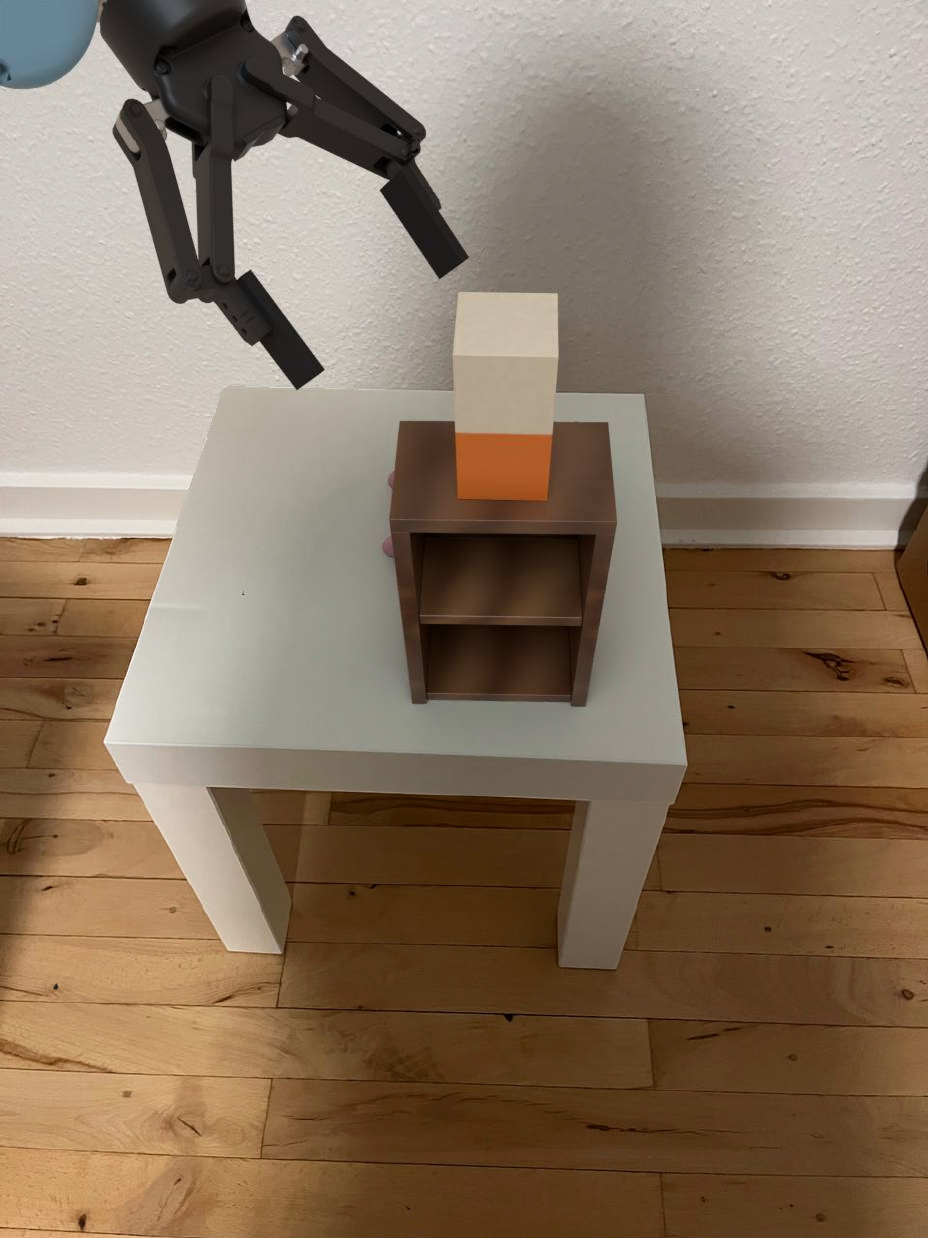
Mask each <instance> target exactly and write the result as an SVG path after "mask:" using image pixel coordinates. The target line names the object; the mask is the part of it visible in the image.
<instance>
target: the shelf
mask: <svg viewBox="0 0 928 1238" xmlns="http://www.w3.org/2000/svg"><path fill="white" fill-rule="evenodd" d="M609 424H610V423H609V421H577V422H574V421H554V422H553V434H552V447H551V460H550V473H549V486H548V498H547V501H524V500H483V499H458V496H457V467H456V439H455V420H399V423H398V431H397V440H396V451H395V460H394V469H393V471H394V478H393V487H392V488H391V498H390V507H389V517H388V521H389V530H390V535H391V539H392V547H393V555H394V556H393V563H394V571H395V578H396V586H397V587H396V588H397V593H398V603H399V611H400V618H401V626H402V627H401V628H402V634H403V642H404V650H405V651H404V652H405V658H406V659H405V660H406V666H407V675H408V683H409V691H410V699H411V700H410V701H411V704H412V705H427V704H428V701H475V702H476V701H477V702H479V701H481V702H482V701H483V702H537V703H538V702H542V703H543V702H544V703H570V707H583V708H584V707H586V706H587V701H588V695H589V689H590V683H591V677H592V673H593V668H594V667H593V665H594V660H595V655H596V650H597V649H596V648H597V643H598V637H599V631H600V625H601V620H602V614H603V607H604V602H605V595H606V590H607V584H608V580H609V579H608V577H609V573H610V567H611V561H612V555H613V550H614V543H615V538H616V532H617V526H618V515H617V514H618V513H617V505H616V504H617V503H616V502H617V501H616V493H615V481H614V480H615V479H614V471H613V459H612V449H611V436H610V426H609Z"/></svg>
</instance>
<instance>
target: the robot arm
mask: <svg viewBox="0 0 928 1238" xmlns="http://www.w3.org/2000/svg"><path fill="white" fill-rule="evenodd" d="M97 24H99V34H100V36H101V39H102V40H103V41H104V42H105V44H106V45H107V46H108V48H109V49H110V51H111V52H112V54H114V56H115V57H116V59H117V60H118V62H119V63H120V64H121V66H122V67H123V68H124V69H125V72H127V74H128V75H129V77H130V78H131V79H132V81H133V82H134V83H135V84H136V86H137V87H138V88H139V89H140V90H141V91H143V92H146V93H148V95H149V97H150V99H151V101H148V102H144V103H143V102H142V101H140V100H138V99H136V98H127V99H126V100H124V102H123V105H122V106H121V109H120V111H119V113H118V115H117V117H116V120H115V121H114V125H113V127H112V136H113V137H114V139H115V141H116V143H117V144H118V146H119V148H120V149H121V150H122V152H123V154H124V156H125V157H126V158H127V160H128V162H129V163H130V165H131V167H132V169H133V172H134V176H135V180H136V184H137V187H138V191H139V194H140V198H141V203H142V205H143V210H144V213H145V217H146V220H147V224H148V228H149V232H150V236H151V238H152V239H151V240H152V243H153V246H154V249H155V254H156V257H157V261H158V264H159V268H160V272H161V276H162V279H163V282H164V287H165V291H166V295H167V296H168V299H170V301H172V302H173V303H175V304H177V305H182V304H183V305H184V304H186V303H187V302H188V301H191V300H196V299H198V300H199V301H200V302H202V303H204V304H211V303H214V304H215V305H216V307H217V308H218V309H219V310H220V312H221V313H222V315H223V316H224V317H225V318H226V319H227V321H228V322H229V323H230V325H231V326H232V327H233V328H234V330H235V331H236V332H237V334H238V335H239V336H240V338H241V339H242V340H243V341H244V342H245V343H247V344H248V345H249V346H251V347H253V346H255V345H256V344H258V343H260V345H262V347H263V348H264V350H265V351H266V352H267V353H268V354H269V356H270V357H271V359H272V360H273V361H274V363H275V364H276V365H277V367H278V368H279V369H280V370H281V372H282V373H283V374H284V376H285V377H286V379H288V382H290V384H291V385H292V386H293V387H294V389H295V391H299V390H300V389H301V388H303V387H304V386H305V385H307V384H308V383H310V382H311V381H313V380H314V379H315V378H317V377H318V376H319V375H320V374H323V372H324V371H326V369H325V368H324V366H323V365H322V364H321V361H319V359H318V358H317V357H316V355H315V354H314V352H313V351H312V350H311V349H310V347H309V346H308V345H307V343H306V342H305V340H304V339H303V338H302V337H301V335H300V334H299V332H298V331H297V329H296V328H295V327H294V326H293V324H292V323H291V322H290V320H289V319H288V318H287V316H286V315H285V314H284V312H283V311H282V309H281V308H280V306H279V305H278V304H277V303H276V302H275V300H274V299H273V298H272V296H271V295H270V293H269V292H268V290H267V289H266V287H264V285H263V284H262V282H261V281H260V280H259V279H258V277H257V276H256V275H255V273H254V272H253V271H252V269H250V268H249V270H248V271H246V272H244V273H243V274H241V275H240V276H239V277H238V278H237V277H236V259H235V258H236V257H235V234H234V232H235V230H234V229H235V228H234V203H233V201H234V200H233V175H232V163H233V162H235V163H236V162H237V161H239V160H241V159H242V158H244V157H245V156H246V155H247V154H248V152H249V151H250V150H251V149H252V148H255V147H260V146H265V145H267V144H268V143H270V142H272V141H273V140H274V139H275V138H276V136H277V135H280V136H282V137H284V138H287V139H293V138H298V139H300V140H302V141H304V142H307V143H309V144H311V145H313V146H315V147H317V148H319V149H321V150H324V151H325V152H327V153H330V154H331V155H334V156H336V157H338V158H341V159H343V160H345V161H347V162H348V163H351V164H352V165H355V166H357V167H360V168H361V169H364V170H366V171H368V172H370V173H372V174H374V175H376V176H379V177H381V178H383V179H385V180H387V182H386V183H385V184H384V185H383V186H382V187H381V188H380V189H379V192H380V194H381V195H382V196H383V198H384V200H386V202H387V204H388V205H389V207H390V208H391V210H392V211H393V213H394V214H395V216H396V217H397V219H398V220H399V222H400V223H401V225H402V227H403V228H404V229H405V231H406V232H407V233H408V235H409V236H410V238H411V239H412V241H413V243H414V244H415V245H416V247H417V249H418V250H419V251H420V253H421V255H422V256H423V258H424V259H425V260H426V262H427V263H428V265H429V267H430V268H431V269H432V271H433V272H434V274H435V276H436V277H437V278H438V280H441V279H442V278H444V277H446V275H448V274H449V273H451V272H452V271H453V270H455V269H456V268H457V267H459V266H460V265H462V264H463V263H464V262H466V261H467V260H468V259H469V258H470V256H469V254H468V253H467V252H466V250H465V248H464V247H463V245H462V244H461V242H460V240H458V237H456V235H455V233H454V232H453V230H452V228H451V227H450V226H449V224H448V223H447V221H446V220H445V218H444V217H443V215H442V213H441V212H440V211H441V209H443V207H442V203H441V201H440V198H439V197H438V196H437V194H436V192H435V191H434V189H433V188H432V185H430V183H429V182H428V180H427V179H426V177H425V176H424V174H423V172H422V170H421V169H420V168H419V166H418V165H417V162H416V158H417V156H418V155H419V154H421V152H422V151H421V150H422V149H421V148H422V147H421V143H422V142H423V141H424V140H425V139H426V137H427V129H426V127H425V126H424V124H423V123H422V122H421V121H419V120H418V119H416V117H414V116H413V115H412V114H410V113H409V111H406V110H405V109H404V108H403V107H402V106H401V105H399V104H398V103H397V102H396V101H394V100H393V99H392V98H391V97H390V96H388V95H387V94H386V93H384V92H383V91H382V90H381V89H379V88H378V87H377V86H376V85H374V84H373V83H372V82H370V81H369V80H368V79H367V78H366V77H364V76H363V75H362V74H361V73H359V72H358V71H357V70H356V69H355V68H353V67H352V66H351V65H350V64H348V63H347V62H346V61H344V60H343V59H342V58H341V57H339V55H337V54H336V53H334V51H332V50H331V49H329V48H328V46H326V44H325V42H324V41H322V39H321V38H320V36H318V34H317V33H316V32H315V30H314V29H313V27H312V26H311V25H310V23H309V22H308V21H307V20H306V18H304V17H303V16H301V15H294V16H292V17H291V18H290V20H289V22H288V23H287V25H286V26H285V27H284V29H283V31H282V32H280V34H278V35H277V36H275V37H274V38H273V39H272V40H269V39H268V38H266V36H263V35H262V34H261V33H260V32H259V31H258V30H257V29H256V27H255V26H254V25H253V22H252V19H251V17H250V14H249V10H248V5H247V2H246V0H0V87H4V88H6V89H12V90H32V89H39V88H42V87H43V88H44V87H46V86H49V85H52V84H53V83H55V82H57V81H59V80H61V79H62V78H63V77H65V76H67V74H69V73H70V72H71V71H72V70H73V69H74V68H75V67H76V66H77V65H78V64H79V62H80V61H81V60H82V59H83V57H84V56H85V55H86V53H87V51H88V49H89V47H90V45H91V42H92V40H93V38H94V34H95V31H96V27H97ZM292 76H293V77H294V78H293V77H292ZM295 78H296V79H295ZM288 104H289V105H290V106H289V107H288ZM167 130H168V131H170V132H171V133H173V134H175V135H178V136H179V137H181V138H183V139H185V140H187V141H189V142H190V143H191V169H192V171H191V172H192V178H194V180H195V203H196V206H195V207H196V233H197V235H196V236H197V250H196V247H195V243H194V239H193V236H192V231H191V228H190V224H189V220H188V217H187V213H186V209H185V205H184V201H183V198H182V194H181V190H180V187H179V182H178V179H177V176H176V172H175V168H174V165H173V161H172V157H171V153H170V151H169V148H168V145H167V143H166V141H167V139H168V132H167Z"/></svg>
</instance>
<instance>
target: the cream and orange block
mask: <svg viewBox="0 0 928 1238" xmlns="http://www.w3.org/2000/svg"><path fill="white" fill-rule="evenodd" d="M456 302H457V303H456V313H455V325H454V334H453V345H452V377H453V379H452V381H453V406H454V407H453V408H454V410H453V411H454V421H455V439H456V467H457V496H458V499H483V500H524V501H547V498H548V486H549V473H550V460H551V447H552V434H553V422H555V409H556V408H555V407H556V394H557V385H558V384H557V381H558V369H559V294H558V293H557V292H556V293H555V292H499V291H498V292H495V291H492V292H490V291H489V292H488V291H486V292H485V291H458V292H457V301H456Z"/></svg>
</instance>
